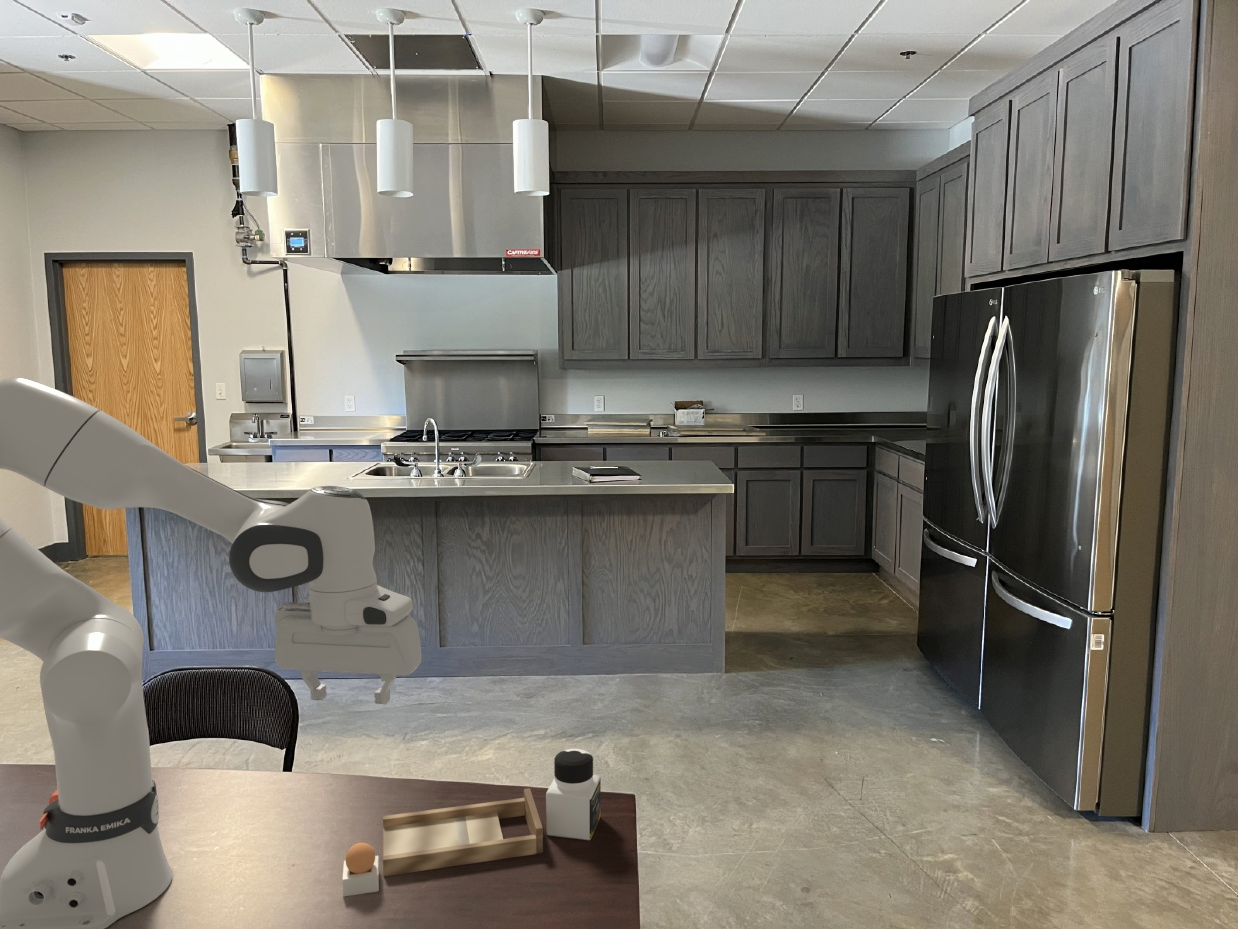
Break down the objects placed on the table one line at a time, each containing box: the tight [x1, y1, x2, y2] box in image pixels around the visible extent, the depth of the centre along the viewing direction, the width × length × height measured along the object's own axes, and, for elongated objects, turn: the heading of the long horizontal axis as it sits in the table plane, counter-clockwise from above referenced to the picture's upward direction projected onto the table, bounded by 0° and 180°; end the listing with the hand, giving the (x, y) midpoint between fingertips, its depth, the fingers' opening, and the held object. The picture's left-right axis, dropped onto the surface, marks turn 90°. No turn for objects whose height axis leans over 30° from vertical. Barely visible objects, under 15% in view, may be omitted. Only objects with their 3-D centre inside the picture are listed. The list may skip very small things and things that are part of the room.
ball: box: [345, 842, 376, 874], centre depth 122 cm, size 4×4×4 cm
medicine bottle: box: [545, 748, 602, 841], centre depth 137 cm, size 7×7×12 cm
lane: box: [382, 787, 544, 877], centre depth 133 cm, size 23×12×4 cm, turn 105°
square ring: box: [342, 855, 380, 898], centre depth 122 cm, size 5×5×2 cm
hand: (350, 700), depth 121 cm, fingers open, 8 cm apart
